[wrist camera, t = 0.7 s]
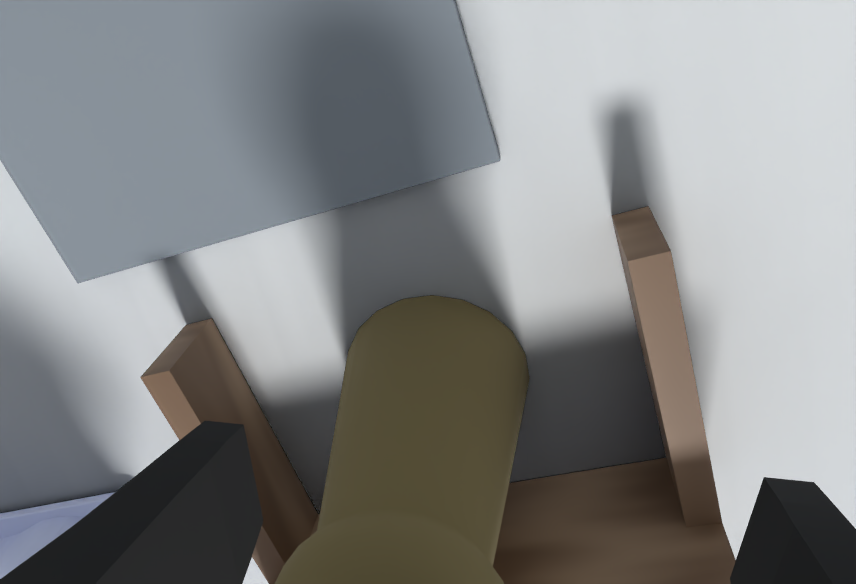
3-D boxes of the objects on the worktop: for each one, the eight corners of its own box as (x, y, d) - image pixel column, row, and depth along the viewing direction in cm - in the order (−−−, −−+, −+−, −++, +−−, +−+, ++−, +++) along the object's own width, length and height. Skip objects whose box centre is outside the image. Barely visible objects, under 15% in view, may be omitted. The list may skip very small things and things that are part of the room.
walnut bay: (304, 535, 26) (251, 686, 21) (186, 325, 22) (80, 446, 17) (701, 474, 22) (759, 640, 17) (648, 206, 18) (702, 314, 13)
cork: (309, 356, 22) (145, 683, 12) (452, 259, 20) (390, 568, 10) (423, 472, 24) (359, 837, 14) (566, 396, 21) (607, 770, 12)
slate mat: (84, 277, 21) (77, 283, 21) (-94, -11, 18) (-106, -10, 17) (500, 157, 18) (500, 161, 18) (386, -235, 14) (383, -239, 14)
